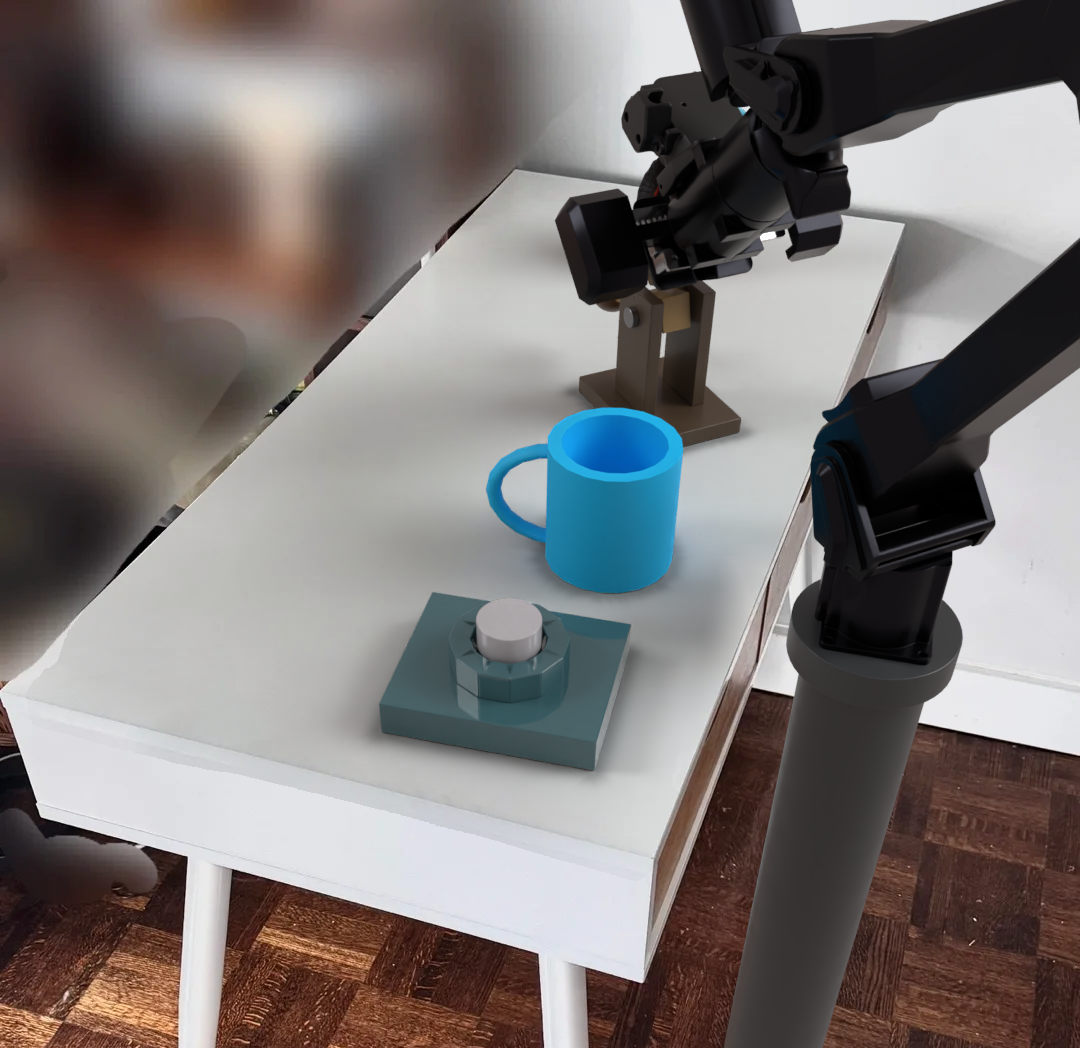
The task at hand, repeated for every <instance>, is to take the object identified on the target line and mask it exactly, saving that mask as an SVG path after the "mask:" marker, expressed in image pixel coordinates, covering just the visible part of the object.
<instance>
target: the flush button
mask: <svg viewBox="0 0 1080 1048" xmlns="http://www.w3.org/2000/svg"><path fill="white" fill-rule="evenodd" d="M491 601H492V602H489V603H488V604H486V605H484V606H483V607H482V608H481V609H480V610H479V612H478V614H477V616H476V641H477V648H478V650H479V651H480V653H481V654H482V655H483V656H484V657H485V658H487V659H489V660H491V661H494V662H500V663H506V664H513V663H518V662H524V661H528V660H530V659H531V658H533V657H534V656H536V654H537V653H538V652H539V651H540V649H541V646H542V615H541V613H540V611H539V610H538V609H537V608H536V607H535V606H534V605H532V604H533V603H532V604H531V602H529V601H526V600H524V599H520V598H514V597H513V598H512V597H511V598H510V597H506V598H499V599H495V600H491Z"/></svg>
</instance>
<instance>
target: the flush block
mask: <svg viewBox="0 0 1080 1048" xmlns="http://www.w3.org/2000/svg"><path fill="white" fill-rule="evenodd" d="M492 601H493V600H486V599H478V598H474V597H466V596H461V595H454V594H448V593H443V592H435V591H432V592H431V594H430V596H429V598H428V600H427V601H426V605H425V606H424V608H423V611H422V613H421V615H420V617H419V619H418V621H417V623H416V625H415V627H414V630H413V632H412V633H411V636H410V637H409V639H408V641H407V644H406V646H405V648H404V650H403V653H402V654H401V657H400V659H399V661H398V663H397V664H396V667H395V669H394V671H393V672H392V675H391V678H390V680H389V682H388V684H387V686H386V687H385V690H384V692H383V694H382V697H381V699H380V701H379V703H378V708H379V718H380V729H381V730H380V731H381V733H382V734H383V733H384V734H390V735H395V736H400V737H404V738H405V737H406V738H412V739H417V740H421V741H422V740H423V741H427V742H428V741H429V742H433V743H438V744H439V743H440V744H444V745H449V746H455V747H460V748H466V749H471V750H477V751H483V752H489V753H494V754H500V755H504V756H510V757H516V758H521V759H527V760H532V761H537V762H538V761H539V762H543V763H548V764H549V763H550V764H554V765H555V764H556V765H560V766H565V767H571V768H576V769H582V770H589V771H592V772H593V771H596V767H597V764H598V762H599V761H598V760H599V756H600V755H601V750H602V747H603V743H604V740H605V737H606V733H607V729H608V727H609V722H610V719H611V716H612V713H613V709H614V705H615V702H616V698H617V695H618V692H619V689H620V685H621V681H622V678H623V675H624V671H625V668H626V664H627V662H628V658H629V654H630V649H631V648H630V647H631V634H632V624H631V623H627V622H620V621H615V620H607V619H602V618H596V617H590V616H584V615H578V614H572V613H565V612H559V611H553V610H548V609H547V608H545V607H544V606H542V605H540V604H538V603H531V602H530V603H531V604H532V605H534V606H535V607H536V608H537V609H538V610H539V611H540V613H541V615H542V646H541V649H540V651H539V652H538V653H537V654H536V656H534V657H533V658H531V659H530V660H528V661H524V662H518V663H513V664H506V663H500V662H494V661H491V660H489V659H487V658H485V657H484V656H483V655H482V654H481V653H480V651H479V650H478V648H477V641H476V616H477V614H478V612H479V610H480V609H481V608H482V607H483V606H484V605H486V604H488V603H489V602H492Z"/></svg>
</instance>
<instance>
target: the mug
mask: <svg viewBox="0 0 1080 1048" xmlns="http://www.w3.org/2000/svg"><path fill="white" fill-rule="evenodd" d="M683 456H684V447H683V444H682V438H681V437H680V435H679V434H678V433H677V431H676V430H675V428H674V427H672V426H671V425H670V424H668V423H667V422H665V421H664V420H662V419H661V418H658V417H656V416H653V415H651V414H648V413H646V412H643V411H637V410H632V409H626V408H597V409H596V408H591V409H584V410H581V411H578V412H576V413H573V414H570V415H568V416H566V417H564V418H563V419H561V420H560V421H559V422H557V423H556V424H554V425H553V427H552V428H551V431H550V432H549V433H548V435H547V443H536V444H531V445H527V446H523V447H520V448H517V449H515V450H513V451H511V452H510V453H508V454H506V455H505V456H503V457H501V458H500V459H499V460H498V461H497V462H496V464H495V465H494V466H493V468H491V470H490V472H489V473H488V478H487V483H486V487H485V491H486V496H487V500H488V504H489V508H491V510H492V511H493V512H494V514H495V515H496V517H497V518H498V519H499V521H500V522H502V523H503V524H504V525H505V526H507V527H508V528H509V529H511V530H512V531H513V532H515V533H517V534H518V535H521V536H523V537H525V538H527V539H529V540H532V541H535V542H539V543H543V544H545V554H544V555H545V556H544V558H545V560H546V562H547V564H548V566H549V568H550V571H552V572H553V573H554V574H555V575H557V576H558V577H559V578H560V579H561V580H562V581H564V582H566V583H568V584H570V585H572V586H574V587H576V588H578V589H581V590H586V591H590V592H591V591H592V592H595V593H600V594H622V593H623V594H624V593H628V592H633V591H638V590H639V591H640V590H642V589H644V588H647V587H649V586H651V585H653V584H655V583H657V582H658V581H660V579H661V578H662V577H663V576H665V575H666V574H667V573H668V570H669V568H670V566H671V564H672V562H673V557H674V555H673V554H674V547H675V546H674V545H675V535H676V525H677V517H678V508H679V507H678V506H679V496H680V486H681V477H682V466H683V458H684V457H683ZM536 460H546V499H545V500H546V501H545V506H546V507H545V527H543V526H540V525H538V524H535V523H533V522H531V521H528V520H526V519H524V518H523V517H521V515H519V514H517V513H516V512H515V511H513V510H512V509H511V507H510V506H509V504H508V503H507V502H506V500H505V498H504V495H503V490H502V486H503V482H504V479H505V477H506V476H507V475H508V474H509V473H510V471H511V470H513V469H515V468H516V467H518V466H520V465H521V464H523V463H524V464H525V463H528V462H531V461H532V462H533V461H536Z"/></svg>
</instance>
